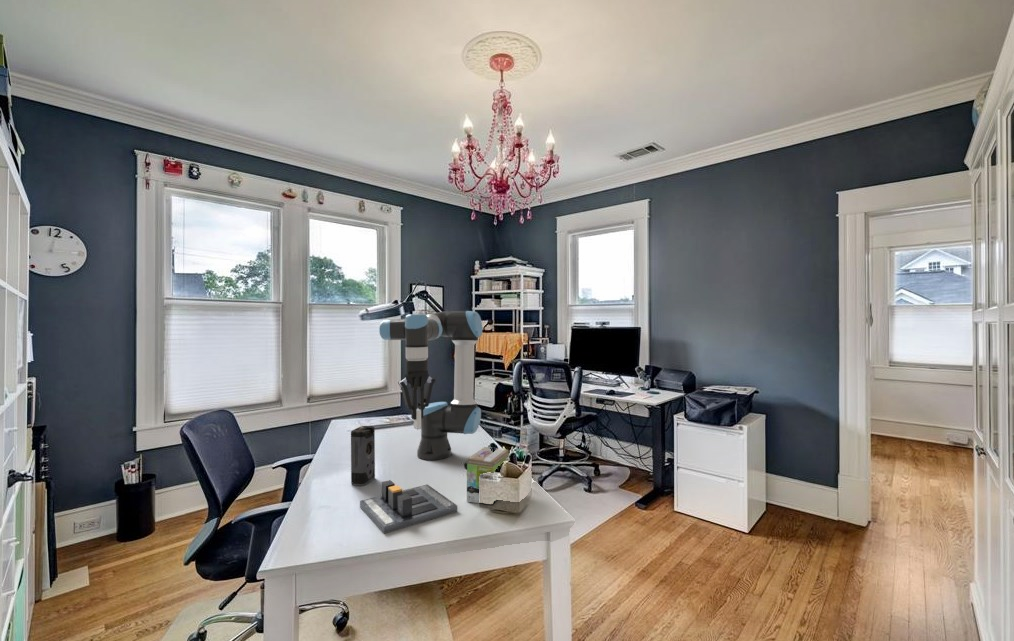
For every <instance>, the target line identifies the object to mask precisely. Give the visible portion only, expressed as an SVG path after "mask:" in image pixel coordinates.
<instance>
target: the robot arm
mask: <svg viewBox="0 0 1014 641" xmlns="http://www.w3.org/2000/svg"><path fill="white" fill-rule="evenodd" d="M378 331H379V335H380V337H381V339H383V340H385V341H405V359H406V361H405V375H404V378H403V379H402V380H399V381H398V382H397V383H398V385H399V387H400V389H401V394H402V398H403V400H404V404H405V405H404V406H405V408H406V409H409V410H410V411H411V412H410V413H411V416H410V417H411V419H412V420H413V429H415V430H417V431H418V430H420V436H421V437H420V441H419V445H418V447H417V452H416V454H417V458H419V459H421V460H425V461H437V460H444V459H447V458H448V457H450V456H452V446H451V444H450V441H449V438H448V434H463V435H468V434H469V435H473V434H475V433H476V432H477V431H478V428H479V426H480V423H481V418H482V411H481V409H482V408H480V407H479V406H478V404H477V401H476V400H475V399H474V392H475V391H474V390H475V389H474V382H475V381H474V378H475V345H476V344H477V343H478V342H479V341H478V340H479V338H481V337H482V335H483V322H482V318H481V315H480V314H479V313H478V312H477V311H473V310H453V311H451V310H445V311H438V312H435V313H434V312H433V313H429V314H426V313H422V314H419V313H417V314H411V313H409V314H407V315H405V318H398V319H383V320H382V321H381V322H380V324H379V330H378ZM440 337H443V338H444V337H445V338H451V342H452V343H453V344H454V375H453V376H454V378H453V380H454V381H453V382H454V383H453V384H454V385H453V399H452V401H450V403H449V404H450V405H448V402H447V401H436V402H431V403H430V401H431V396H432V393H433V392H432V391H433V386H434V384H435V383H436V378H432V377H431V376H430V374H429V360H428V358H429V341H435V340H436V339H438V338H440ZM425 384H426V385H425ZM407 385H409V389H410V390H408V386H407ZM409 391H410V392H409Z"/></svg>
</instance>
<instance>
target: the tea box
mask: <svg viewBox="0 0 1014 641" xmlns="http://www.w3.org/2000/svg"><path fill="white" fill-rule="evenodd" d="M490 448H491V447H489V446H488V447H487V446H484V447H482V448H481V449H480V450H478V451H476V452H475V453H474V454H472V455H470V456H469V457H467V458H466V459H467V460H466V461H467V463H466V464H467V465H466V467H467V468H466V502H469V503H475V504H479V476H480V474H483V473H487V472H491V473H494V472H495V470H496V469H497V467H498V466H500V465H501V464H502V463H503V461H505V460H506V458H507V456H508V455H509V456H510V454H509V452H510V451H509V449H503V448H496V450H495V451H494V452H491V449H490Z"/></svg>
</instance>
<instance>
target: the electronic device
mask: <svg viewBox="0 0 1014 641" xmlns="http://www.w3.org/2000/svg"><path fill="white" fill-rule="evenodd" d="M375 441H376V440H375V427H374V426H373V425H361V426H358V427H357V428H354V429H352V430H351V431H350V474H351V475H350V481H351V482H350V483H351V485H353V486H357V487H358V486H360V487H361V486H362V487H363V486H366V485H368V484H369V483H370V482H372V481H373V480H374V479H375V477H376V464H375V463H376V454H375V453H376V450H375V449H376V448H375V446H376V445H375V444H376V443H375Z"/></svg>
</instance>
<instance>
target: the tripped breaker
mask: <svg viewBox="0 0 1014 641" xmlns="http://www.w3.org/2000/svg"><path fill="white" fill-rule="evenodd" d="M402 490H403V488H402V487H400V486H399V485H398V484H395V486H391V487H388V505H389V506H390V507H391V508H393V509H395V508H398V496H400V495H402Z"/></svg>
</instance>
